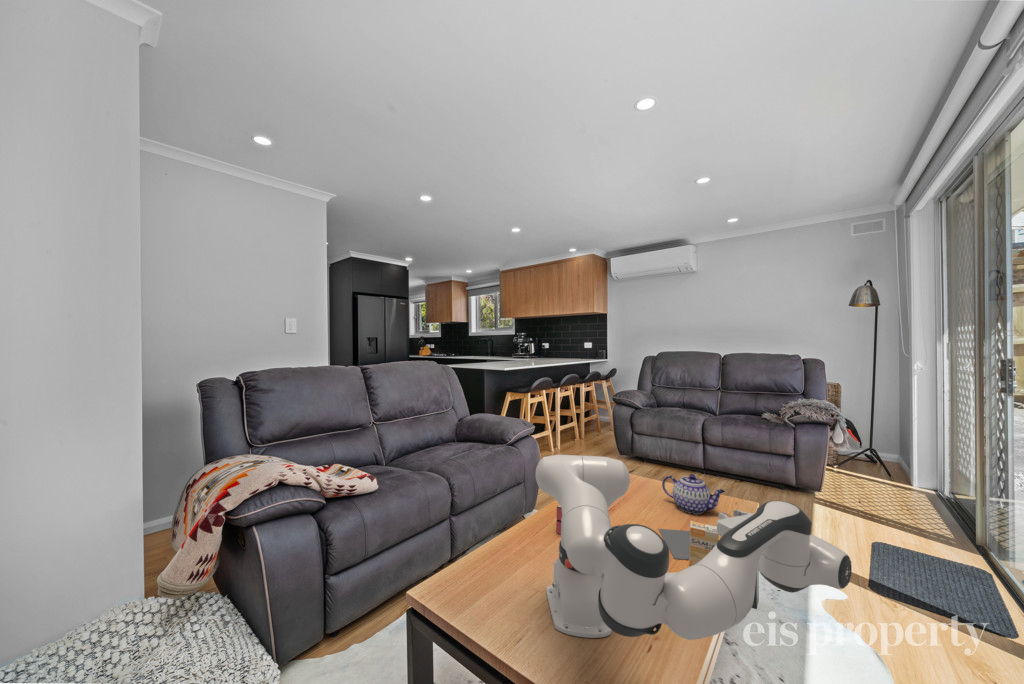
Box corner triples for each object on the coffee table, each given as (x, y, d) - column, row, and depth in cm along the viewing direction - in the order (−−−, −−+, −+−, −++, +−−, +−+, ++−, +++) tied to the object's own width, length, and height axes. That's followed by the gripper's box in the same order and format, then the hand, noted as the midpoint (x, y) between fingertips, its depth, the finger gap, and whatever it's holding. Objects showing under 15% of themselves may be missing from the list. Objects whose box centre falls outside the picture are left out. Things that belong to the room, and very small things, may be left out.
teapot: (655, 505, 168) (656, 471, 168) (669, 495, 179) (669, 463, 179) (718, 525, 150) (718, 487, 150) (729, 513, 161) (729, 477, 161)
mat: (719, 562, 124) (719, 561, 124) (674, 559, 126) (674, 558, 126) (697, 532, 144) (697, 531, 144) (658, 529, 146) (658, 528, 146)
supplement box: (688, 566, 122) (689, 527, 121) (689, 558, 126) (690, 519, 125) (718, 574, 118) (718, 533, 117) (717, 565, 122) (718, 525, 121)
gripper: (744, 556, 94) (699, 530, 107) (801, 543, 101) (752, 519, 114) (745, 530, 94) (700, 507, 107) (802, 519, 101) (753, 498, 114)
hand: (727, 513), depth 111 cm, fingers open, 4 cm apart
